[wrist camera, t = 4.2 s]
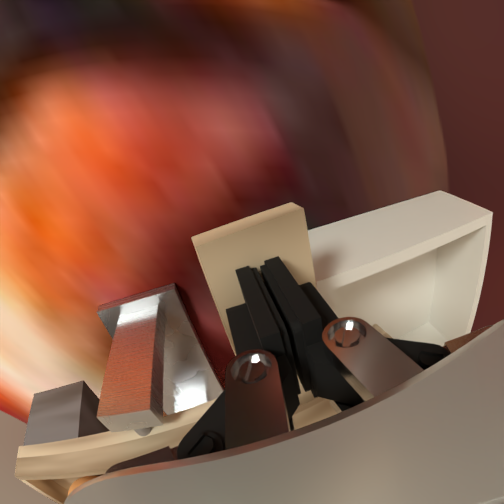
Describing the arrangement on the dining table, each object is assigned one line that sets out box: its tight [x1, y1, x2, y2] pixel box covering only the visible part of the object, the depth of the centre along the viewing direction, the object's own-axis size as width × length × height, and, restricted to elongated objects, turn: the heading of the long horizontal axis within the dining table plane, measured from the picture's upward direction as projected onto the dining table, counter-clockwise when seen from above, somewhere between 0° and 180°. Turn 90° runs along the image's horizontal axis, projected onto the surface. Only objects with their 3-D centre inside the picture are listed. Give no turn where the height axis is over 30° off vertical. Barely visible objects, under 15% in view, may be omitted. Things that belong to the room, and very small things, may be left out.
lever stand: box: [97, 283, 224, 432], centre depth 18 cm, size 13×6×10 cm, turn 14°
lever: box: [15, 202, 392, 504], centre depth 14 cm, size 16×24×8 cm, turn 104°
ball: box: [68, 476, 99, 495], centre depth 11 cm, size 4×4×4 cm
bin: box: [308, 191, 493, 346], centre depth 21 cm, size 15×15×6 cm
